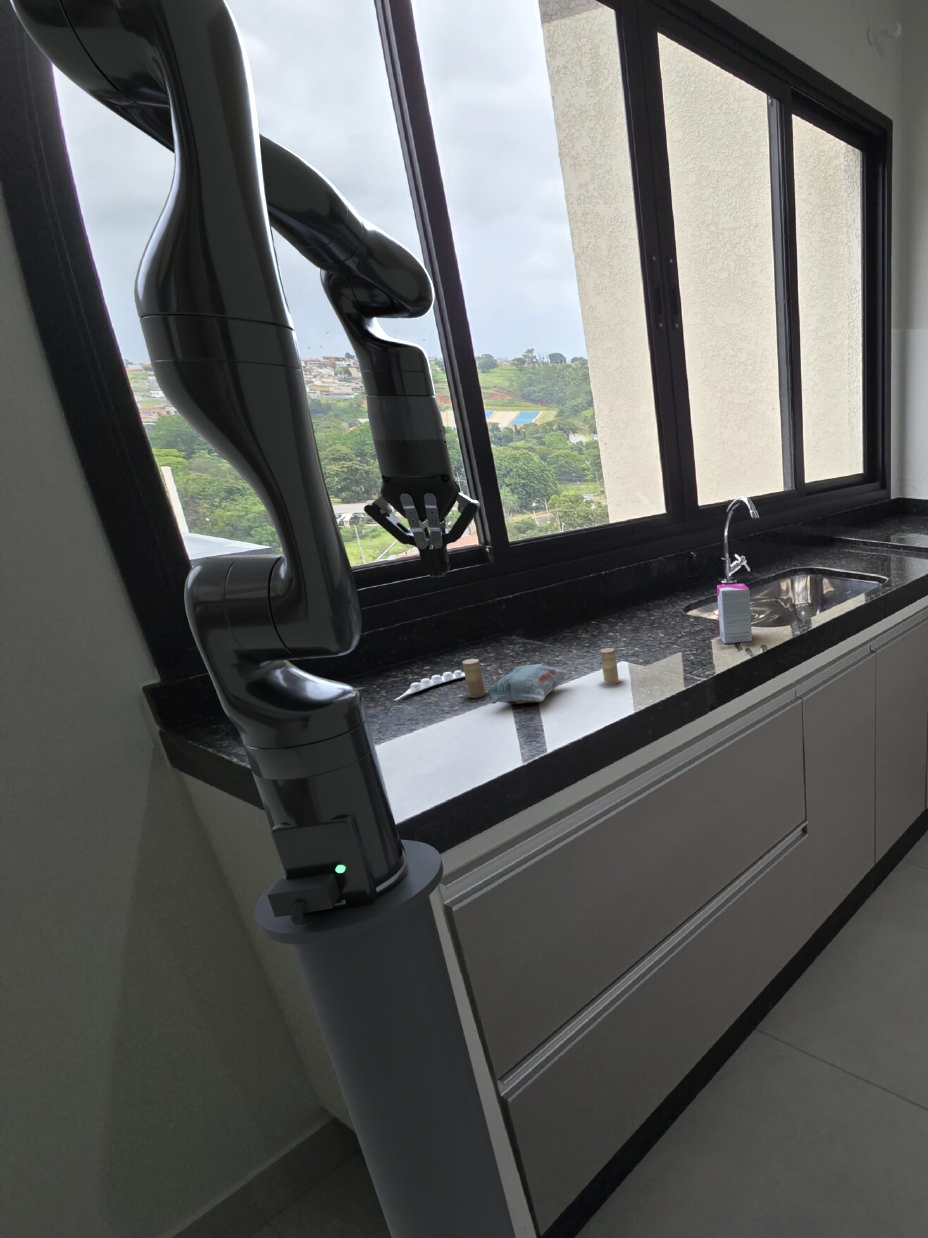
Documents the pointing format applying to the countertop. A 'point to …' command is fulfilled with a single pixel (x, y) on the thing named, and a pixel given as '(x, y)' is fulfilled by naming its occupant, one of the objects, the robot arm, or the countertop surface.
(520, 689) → the packaged food
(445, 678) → the pea pod
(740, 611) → the supplement box
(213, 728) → the countertop surface
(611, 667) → the marker peg right
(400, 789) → the countertop surface
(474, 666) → the marker peg left
